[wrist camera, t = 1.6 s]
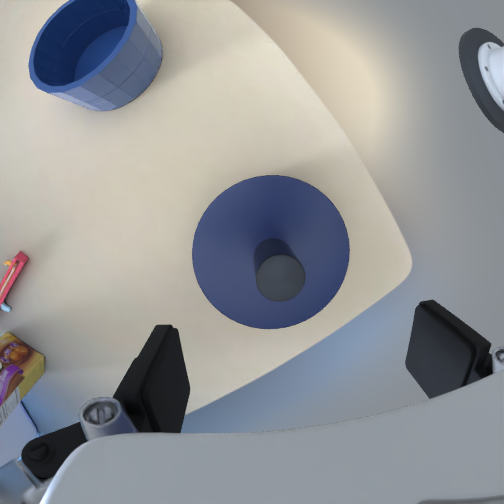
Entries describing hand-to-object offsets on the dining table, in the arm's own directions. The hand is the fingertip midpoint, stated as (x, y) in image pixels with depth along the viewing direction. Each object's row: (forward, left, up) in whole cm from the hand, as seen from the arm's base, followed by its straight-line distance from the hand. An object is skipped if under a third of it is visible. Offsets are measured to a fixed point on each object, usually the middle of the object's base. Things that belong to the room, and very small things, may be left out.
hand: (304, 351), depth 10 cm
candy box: (+40, +15, -22) cm, 49 cm away
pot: (+16, -23, -22) cm, 36 cm away
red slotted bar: (+42, +6, -22) cm, 48 cm away
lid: (0, 0, -15) cm, 15 cm away
